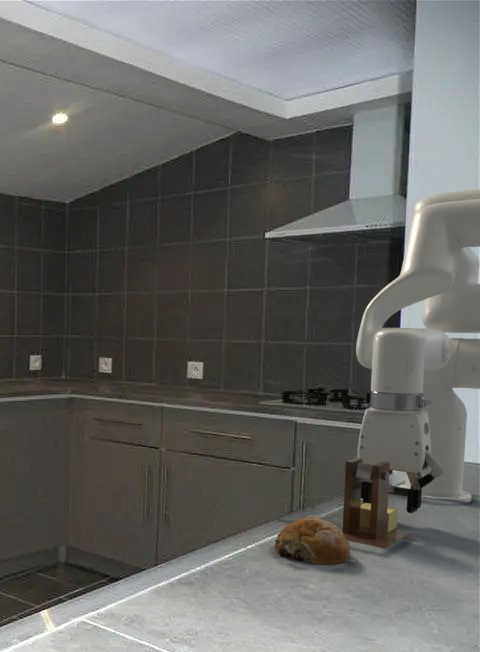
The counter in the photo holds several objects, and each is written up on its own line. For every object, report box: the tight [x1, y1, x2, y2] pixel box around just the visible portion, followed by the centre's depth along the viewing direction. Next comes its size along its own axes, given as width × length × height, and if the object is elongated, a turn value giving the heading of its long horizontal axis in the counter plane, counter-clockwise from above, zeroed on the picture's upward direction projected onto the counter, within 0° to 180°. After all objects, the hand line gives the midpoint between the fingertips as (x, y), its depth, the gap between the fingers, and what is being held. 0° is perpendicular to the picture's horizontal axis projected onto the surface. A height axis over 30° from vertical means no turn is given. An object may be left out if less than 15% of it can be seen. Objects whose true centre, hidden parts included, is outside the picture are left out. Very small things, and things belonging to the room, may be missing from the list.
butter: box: [359, 503, 399, 532], centre depth 118 cm, size 4×5×3 cm
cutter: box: [334, 457, 412, 550], centre depth 115 cm, size 12×10×13 cm
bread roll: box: [274, 517, 352, 566], centre depth 105 cm, size 10×10×8 cm
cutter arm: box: [356, 463, 409, 498], centre depth 118 cm, size 15×6×2 cm, turn 132°
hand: (389, 506), depth 122 cm, fingers closed on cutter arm, 6 cm apart
